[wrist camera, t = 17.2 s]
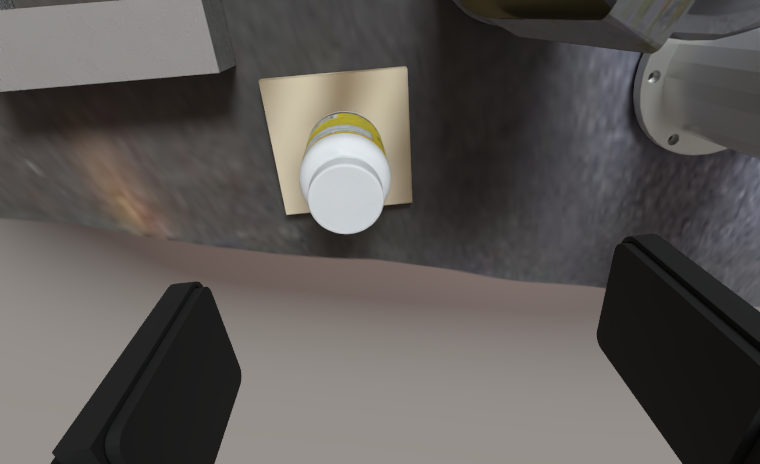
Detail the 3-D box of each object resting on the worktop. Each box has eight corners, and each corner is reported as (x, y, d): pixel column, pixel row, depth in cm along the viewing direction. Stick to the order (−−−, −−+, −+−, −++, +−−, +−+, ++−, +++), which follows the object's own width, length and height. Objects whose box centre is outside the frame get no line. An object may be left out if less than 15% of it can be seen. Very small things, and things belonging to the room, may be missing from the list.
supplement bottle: (374, 186, 31) (385, 253, 22) (304, 175, 30) (287, 239, 22) (389, 116, 28) (407, 161, 20) (313, 102, 28) (296, 141, 19)
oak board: (405, 66, 28) (407, 67, 27) (410, 197, 33) (412, 202, 32) (261, 78, 28) (258, 80, 27) (288, 209, 32) (286, 214, 32)
